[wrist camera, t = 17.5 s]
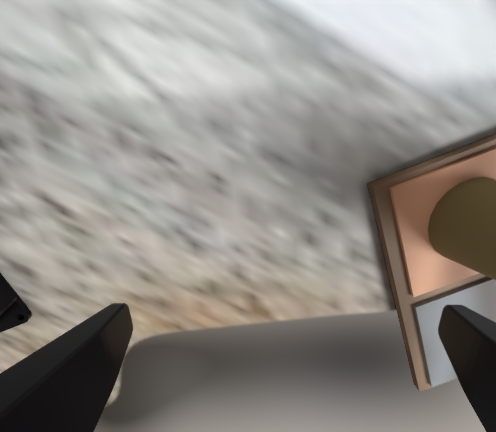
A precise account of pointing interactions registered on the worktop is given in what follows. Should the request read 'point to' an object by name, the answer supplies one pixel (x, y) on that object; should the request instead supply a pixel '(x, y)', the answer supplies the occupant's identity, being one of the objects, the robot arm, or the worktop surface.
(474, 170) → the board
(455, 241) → the cork
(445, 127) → the worktop surface
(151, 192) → the worktop surface
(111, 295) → the worktop surface
